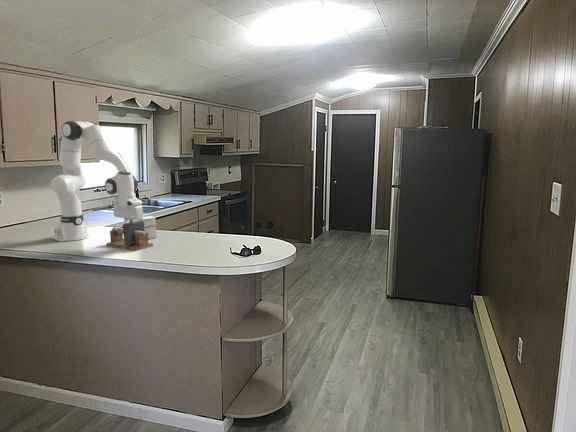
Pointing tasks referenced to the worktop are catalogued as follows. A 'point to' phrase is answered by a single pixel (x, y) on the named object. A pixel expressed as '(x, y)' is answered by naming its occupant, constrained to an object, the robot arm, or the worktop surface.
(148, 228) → the supplement box
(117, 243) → the pipe stand
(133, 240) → the grey flat block
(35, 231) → the worktop surface
